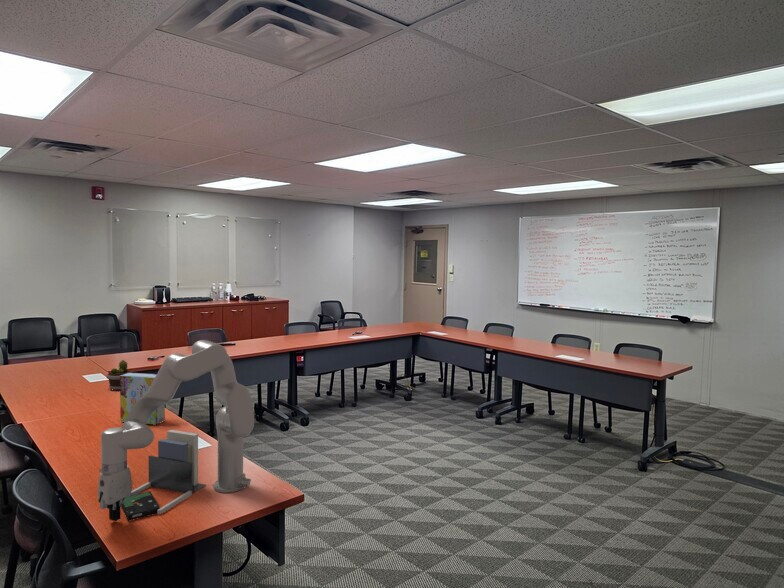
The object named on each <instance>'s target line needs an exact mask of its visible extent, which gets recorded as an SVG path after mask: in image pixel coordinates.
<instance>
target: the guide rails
mask: <svg viewBox="0 0 784 588" xmlns="http://www.w3.org/2000/svg"><path fill="white" fill-rule="evenodd" d="M150 487H151V483H149V481H148V482H146V483H144V484H142V485H140V486H138V487H136V488H134V489H132V492H131V494H130V495H128V496H127V497H130V496H134V495H136V494H140V493H141V492H143V491H145V490H147V489H149V488H150ZM151 488H152V487H151ZM192 495H193V494H192V491H188V492H186V493H182V494H181V495H180V496H178V497H176V498H175V499H172V500H171V501H170V502H168V503H167V504H165V505H163V506H162V507H160V509H158V510H157V514H156V515H159V514H161V513H162V514H164V513H166V512H167V511H169V510H170V509H172V508H173V507H175V506H176V504H177V505H178V504H180V503H182V502H183V501H184V499H185V500H187V499H188V498H189V497H191V496H192ZM179 502H180V503H179ZM171 507H172V508H171ZM168 509H169V510H168ZM166 510H167V511H166ZM163 512H164V513H163ZM162 514H161V515H162Z"/></svg>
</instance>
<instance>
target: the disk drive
mask: <svg viewBox="0 0 784 588" xmlns="http://www.w3.org/2000/svg"><path fill="white" fill-rule="evenodd" d="M120 508H121V509H122V511H123V513H125V514H124V516H125V515H126V516H125V518H126V520H127V522H130V521H129V520H131V521H134V520H133V519H135V520H137V518H138V519H142V518H145V517H144V516H146V517H149V516H148V515H150V516H153V515H152V514H154V515H157V514H156V513H157V510H158V509H160V508H161V507H160V505H159V503H158V501H157V499H156V498H155V496H154V495H153V493H152V492H151V491H150V490H149V491H145V492H142V493H141V492H140V493H138V494H136V495H134V496H130V497H126V498H124V500H123V502H122V506H121V507H120ZM141 517H142V518H141Z"/></svg>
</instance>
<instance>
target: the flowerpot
mask: <svg viewBox="0 0 784 588" xmlns="http://www.w3.org/2000/svg"><path fill="white" fill-rule="evenodd" d="M117 364H118V368H115V367H114V368H111V369H110V371H109V372H108V373H107V374H106V379H107V380H108V383H109V385H108V387H109V389H110V390H111V389H113V390H117V391H119V390H120V375H124V374H127V373H132V372H131V370H128V368H129V367H128V366H129V365H128V361H126V360H125V359H121V360H120V361H119V362H118V363H117Z"/></svg>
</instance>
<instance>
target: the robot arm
mask: <svg viewBox="0 0 784 588" xmlns="http://www.w3.org/2000/svg"><path fill="white" fill-rule="evenodd" d="M208 373H210V374H211V380H212V385H213V386H212V388H213V393H214V397H215V400H216V401H217V402H218V404H220V405H222V406H223V407H221V408H220V409H219V410H218V412H217V413H216V415H215V428H216V435H217V480H215V481H214V483H213V485H212V486H213V487H212V488H213V490H214V491H216V492H218V493H225V494H227V493H228V494H229V493H230V494H231V493H235V492H240V491H241V490H244V488H246V487H250V485H251V481H252V479H251V478H247V477H246V473H244V437H247V436H249V435H250V434H251V433H252V431H253V429H254V427H255V413H254V408H253V400H252V396H251V392H250V391H249V388H247V387H246V386H245V385H244V384H242V383H239V382H238V380H237V376H236V371H235V366H234V364H233V360H232V358H231V357H230V355H229V354H228V353H227V349H226V348H225V347H224V346H223V345H221V344H219V343H218V342H213V341H211V340H208V339H207V340H206V339H200V340H197V341H195V342H194V343H193V344H192V346H191V354H188V355H185V354H182V353H172V354H169V355H168V356H167V357H166V358H165V359H164V360H163V363H162V364H161V366H160V368H159V369H158V371H157V375H156V377H155V379H154V381H153V382H152V384H151V386H150V388H149V389H148V391H147V392H146V393H145V394H144V395H143V396H142V397H141V398H140V399H139V400H138V401H137V402H136V403H135V405H134V406H133V407H132V409H131V410H130V412H129V413H128V415H127V417H126V419H125V421H124V423H122V425H121V427H119V426H118V427H116V426H115V427H110V428H107V429H105V430H103V431H102V432H101V434H100V460H101V461H100V468H99V472H100V474H99V477H98V478H99V479H98V485H97V487H98V488H97V501H98V503H99V509H102V510H104V509H108V518H109V521H113V522H117V521H118V520H120V519H121V517H122V516H121V515H122V514H121V508H122V507H121V506H122V502H123V500H124V498H126V497H127V496H128V495H130V494H131V492H132V490H133V482H132V481H133V480H132V474H131V469H130V466H129V465H128V450H140V449H144V448H146V447H148V446H150V445H151V444H152V443H153V442H154V439H155V434H154V431H153V430H152V428H150V427H149V426H148V425H147V424H146V423H147V421H148V419H149V417H150V416H151V414H152V413H153V412H154V411H155V410H156V409H157V408H158V407H160V406H162V405H164V404H165V405H166V404H168V403H170V402H172V400H173V398H174V396H175V394H176V393H177V391H178V388H179V387H180V385H181V383H182V382H188V381H191V380H194V379H197V378H199V377H201V376H203V375H206V374H208Z"/></svg>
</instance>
